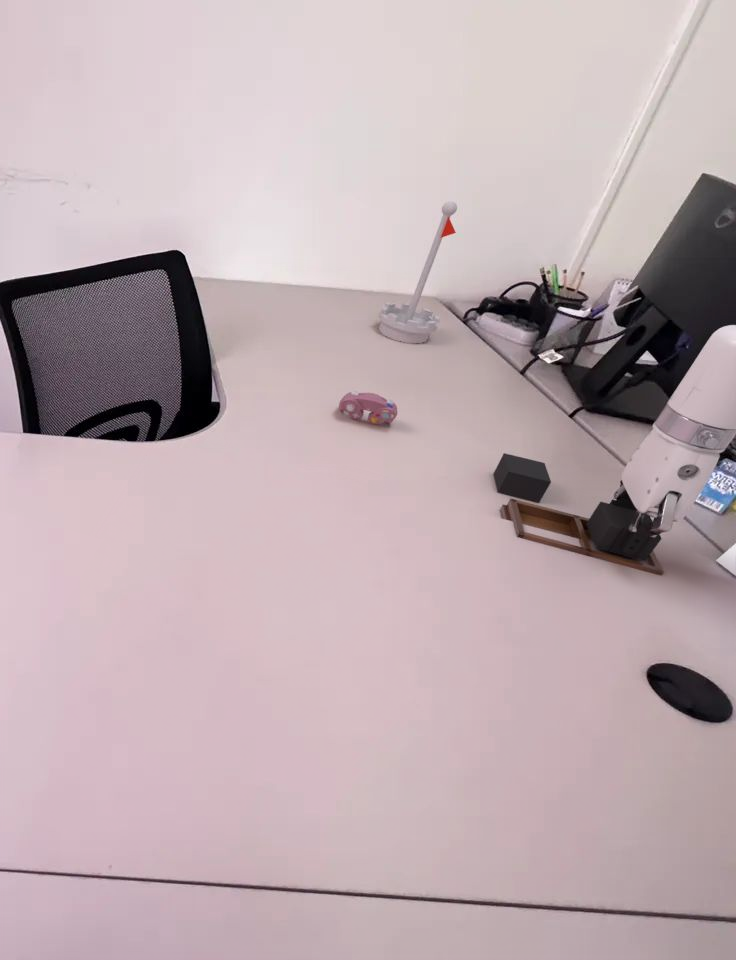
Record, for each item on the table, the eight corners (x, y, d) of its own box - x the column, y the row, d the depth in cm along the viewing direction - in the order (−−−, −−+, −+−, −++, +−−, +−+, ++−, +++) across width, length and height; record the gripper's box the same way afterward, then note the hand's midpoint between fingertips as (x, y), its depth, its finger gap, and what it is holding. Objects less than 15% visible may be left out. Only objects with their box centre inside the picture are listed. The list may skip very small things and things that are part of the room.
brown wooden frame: (636, 545, 97) (646, 531, 96) (657, 588, 89) (668, 574, 88) (499, 509, 102) (507, 496, 100) (508, 548, 94) (516, 534, 93)
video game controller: (333, 422, 123) (341, 398, 117) (338, 403, 125) (347, 379, 119) (389, 436, 121) (400, 413, 115) (393, 416, 123) (405, 393, 117)
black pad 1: (533, 483, 109) (544, 462, 107) (539, 503, 104) (551, 482, 102) (493, 473, 110) (503, 452, 108) (497, 492, 106) (508, 471, 103)
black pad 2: (632, 535, 95) (648, 513, 93) (645, 561, 90) (662, 538, 88) (585, 523, 96) (600, 501, 94) (595, 548, 92) (611, 525, 89)
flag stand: (365, 322, 165) (408, 192, 148) (414, 324, 166) (462, 196, 149) (390, 344, 154) (439, 206, 137) (442, 346, 156) (497, 211, 139)
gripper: (759, 470, 75) (666, 587, 85) (704, 405, 89) (629, 513, 99) (682, 452, 77) (600, 569, 87) (640, 391, 91) (573, 498, 101)
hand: (617, 538), depth 93 cm, fingers closed on black pad 2, 6 cm apart
